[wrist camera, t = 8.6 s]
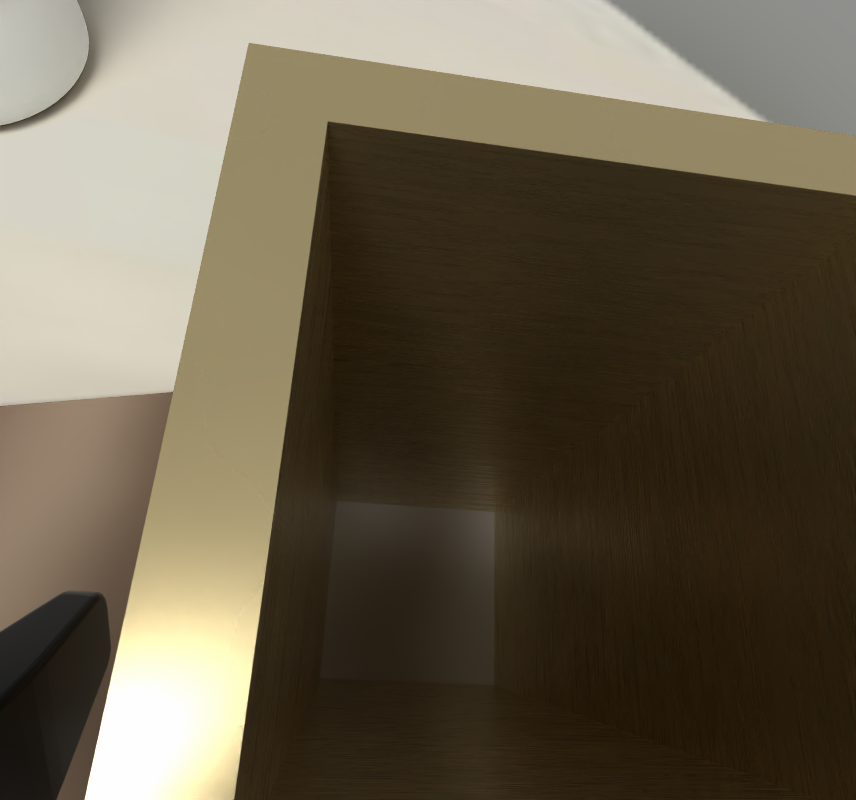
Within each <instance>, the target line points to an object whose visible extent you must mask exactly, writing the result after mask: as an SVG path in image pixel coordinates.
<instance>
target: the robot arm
mask: <svg viewBox="0 0 856 800" xmlns="http://www.w3.org/2000/svg"><path fill="white" fill-rule="evenodd" d="M110 653H111V639H110V628H109V618H108V607H107V601H106V598H105V596H104V595H103V594H102V593H100V592H91V591H74V590H71V591H65V592H63V593H61V594H59V595H57V596H55V597H54V598H52V599H51V600H49V601H47V602H46V603H44V604H43V605H41V606H39V607H38V608H36V609H35V610H33V611H32V612H30V613H28V614H27V615H25V616H24V617H22V618H20V619H19V620H17V621H16V622H14V623H12V624H11V625H9V626H8V627H6V628H5V629H3V630H1V631H0V800H57V797H58V795H59V792H60V790H61V787H62V785H63V782H64V780H65V777H66V774H67V772H68V769H69V767H70V764H71V761H72V759H73V756H74V753H75V751H76V748H77V745H78V743H79V740H80V738H81V735H82V732H83V730H84V727H85V724H86V722H87V719H88V716H89V714H90V711H91V709H92V706H93V703H94V701H95V698H96V695H97V693H98V690H99V687H100V685H101V682H102V680H103V677H104V674H105V672H106V669H107V666H108V663H109V659H110Z"/></svg>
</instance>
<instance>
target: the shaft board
mask: <svg viewBox="0 0 856 800" xmlns="http://www.w3.org/2000/svg"><path fill="white" fill-rule="evenodd" d="M172 395H173V392H171V393H159V394H146V395H134V396H121V397H109V398H96V399H84V400H71V401H59V402H47V403H34V404H22V405H9V406H0V631H1V630H3V629H5V628H6V627H8V626H9V625H11V624H12V623H14V622H16V621H17V620H19V619H20V618H22V617H24V616H25V615H27V614H28V613H30V612H32V611H33V610H35V609H36V608H38V607H39V606H41V605H43V604H44V603H46V602H47V601H49V600H51V599H52V598H54V597H55V596H57V595H59V594H61V593H63V592H65V591H71V590H74V591H91V592H100V593H102V594H103V595H104V596H105V598H106V601H107V607H108V618H109V628H110V639H111V653H110V659H109V663H108V666H107V669H106V672H105V674H104V677H103V680H102V682H101V685H100V687H99V690H98V693H97V695H96V698H95V701H94V703H93V706H92V709H91V711H90V714H89V716H88V719H87V722H86V724H85V727H84V730H83V732H82V735H81V738H80V740H79V743H78V745H77V748H76V751H75V753H74V756H73V759H72V761H71V764H70V767H69V769H68V772H67V774H66V777H65V780H64V782H63V785H62V787H61V790H60V792H59V795H58V797H57V800H85V797H86V792H87V788H88V783H89V778H90V774H91V769H92V765H93V760H94V755H95V751H96V746H97V742H98V737H99V732H100V728H101V723H102V718H103V714H104V709H105V705H106V700H107V695H108V691H109V686H110V682H111V677H112V672H113V668H114V663H115V658H116V654H117V649H118V645H119V640H120V635H121V631H122V626H123V622H124V617H125V612H126V608H127V603H128V599H129V594H130V589H131V585H132V580H133V575H134V571H135V566H136V562H137V557H138V552H139V548H140V543H141V539H142V534H143V529H144V525H145V520H146V515H147V511H148V506H149V502H150V497H151V492H152V488H153V483H154V479H155V474H156V469H157V465H158V460H159V455H160V451H161V446H162V442H163V437H164V432H165V428H166V423H167V419H168V414H169V409H170V405H171V400H172ZM320 678H322V679H350V680H377V681H405V682H432V683H460V684H487V685H494V512H486V511H471V510H457V509H443V508H428V507H414V506H400V505H385V504H371V503H357V502H342V501H337V508H336V518H335V528H334V538H333V548H332V558H331V568H330V578H329V588H328V598H327V608H326V618H325V628H324V638H323V648H322V658H321V668H320Z"/></svg>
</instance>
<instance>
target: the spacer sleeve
mask: <svg viewBox="0 0 856 800" xmlns="http://www.w3.org/2000/svg"><path fill="white" fill-rule="evenodd" d="M337 501H342V502H357V503H371V504H385V505H400V506H414V507H428V508H443V509H457V510H471V511H486V512H494V685H487V684H460V683H432V682H405V681H377V680H350V679H322V678H320V668H321V658H322V648H323V638H324V628H325V618H326V608H327V598H328V588H329V578H330V568H331V558H332V548H333V538H334V528H335V518H336V508H337ZM85 800H856V136H853V135H846V134H840V133H833V132H826V131H820V130H814V129H807V128H801V127H795V126H788V125H782V124H775V123H769V122H762V121H755V120H749V119H742V118H736V117H729V116H723V115H716V114H710V113H703V112H697V111H690V110H684V109H677V108H670V107H664V106H657V105H651V104H644V103H638V102H631V101H625V100H618V99H612V98H605V97H599V96H592V95H586V94H579V93H572V92H566V91H559V90H553V89H546V88H540V87H533V86H527V85H520V84H514V83H507V82H501V81H494V80H488V79H481V78H474V77H468V76H461V75H455V74H448V73H442V72H435V71H429V70H422V69H416V68H409V67H403V66H396V65H389V64H383V63H376V62H370V61H363V60H357V59H350V58H344V57H337V56H331V55H324V54H318V53H311V52H305V51H298V50H291V49H285V48H278V47H272V46H265V45H259V44H252V43H249V45H248V49H247V54H246V59H245V63H244V68H243V72H242V77H241V82H240V86H239V91H238V96H237V100H236V105H235V109H234V114H233V119H232V123H231V128H230V132H229V137H228V142H227V146H226V151H225V156H224V160H223V165H222V169H221V174H220V179H219V183H218V188H217V192H216V197H215V202H214V206H213V211H212V216H211V220H210V225H209V229H208V234H207V239H206V243H205V248H204V252H203V257H202V262H201V266H200V271H199V276H198V280H197V285H196V289H195V294H194V299H193V303H192V308H191V312H190V317H189V322H188V326H187V331H186V335H185V340H184V345H183V349H182V354H181V359H180V363H179V368H178V372H177V377H176V382H175V386H174V391H173V395H172V400H171V405H170V409H169V414H168V419H167V423H166V428H165V432H164V437H163V442H162V446H161V451H160V455H159V460H158V465H157V469H156V474H155V479H154V483H153V488H152V492H151V497H150V502H149V506H148V511H147V515H146V520H145V525H144V529H143V534H142V539H141V543H140V548H139V552H138V557H137V562H136V566H135V571H134V575H133V580H132V585H131V589H130V594H129V599H128V603H127V608H126V612H125V617H124V622H123V626H122V631H121V635H120V640H119V645H118V649H117V654H116V658H115V663H114V668H113V672H112V677H111V682H110V686H109V691H108V695H107V700H106V705H105V709H104V714H103V718H102V723H101V728H100V732H99V737H98V742H97V746H96V751H95V755H94V760H93V765H92V769H91V774H90V778H89V783H88V788H87V792H86V797H85Z"/></svg>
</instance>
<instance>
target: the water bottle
mask: <svg viewBox="0 0 856 800" xmlns="http://www.w3.org/2000/svg"><path fill="white" fill-rule="evenodd" d="M88 51H89V36H88V31H87V26H86V23H85V19H84V17H83V14H82V11H81V9H80V6H79V4H78V2H77V0H0V125H5V124H9V123H13V122H16V121H20V120H23V119H25V118H28V117H30V116H33V115H35V114H37V113H39V112H41V111H43V110H45V109H46V108H48V107H49V106H51V105H52V104H54V103H55V102H57V101H58V100H59V99H60V98H62V97H63V96H64V95H65V94H66V93H67V92H68V91H69V90H70V89H71V88H72V86H73V85H74V84H75V82H76V81H77V80H78V78H79V76H80V75H81V73H82V71H83V69H84V66H85V64H86V61H87V57H88Z"/></svg>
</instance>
